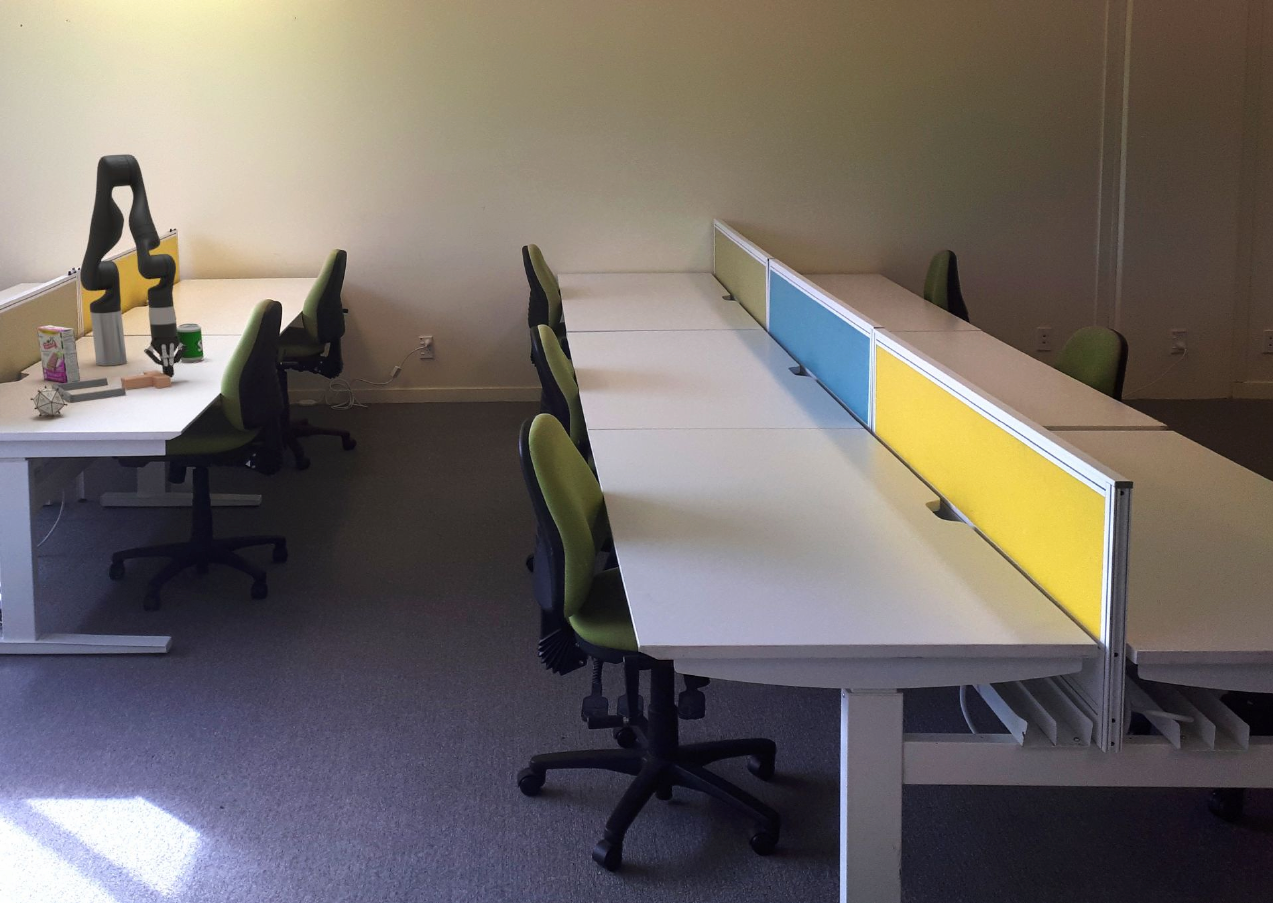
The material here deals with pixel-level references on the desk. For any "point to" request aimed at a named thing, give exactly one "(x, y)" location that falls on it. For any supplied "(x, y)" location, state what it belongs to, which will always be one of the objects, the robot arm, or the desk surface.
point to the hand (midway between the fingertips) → (168, 377)
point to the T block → (146, 380)
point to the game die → (49, 401)
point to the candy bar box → (58, 354)
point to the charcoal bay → (88, 395)
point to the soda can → (191, 342)
